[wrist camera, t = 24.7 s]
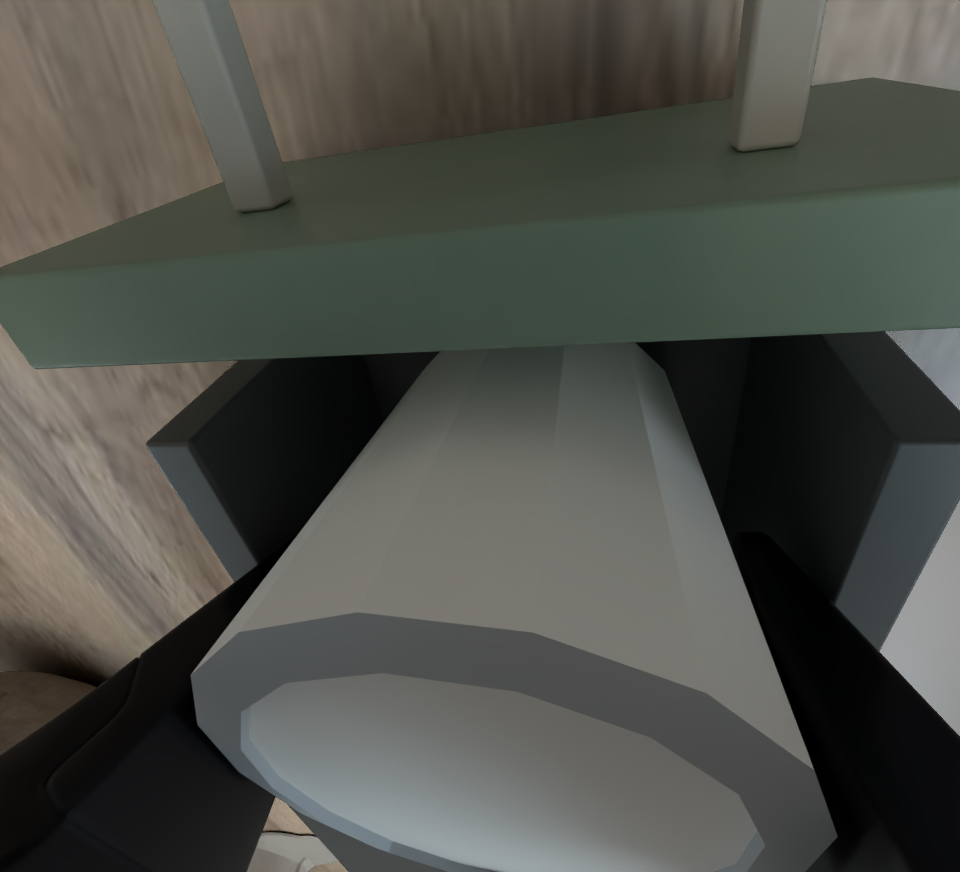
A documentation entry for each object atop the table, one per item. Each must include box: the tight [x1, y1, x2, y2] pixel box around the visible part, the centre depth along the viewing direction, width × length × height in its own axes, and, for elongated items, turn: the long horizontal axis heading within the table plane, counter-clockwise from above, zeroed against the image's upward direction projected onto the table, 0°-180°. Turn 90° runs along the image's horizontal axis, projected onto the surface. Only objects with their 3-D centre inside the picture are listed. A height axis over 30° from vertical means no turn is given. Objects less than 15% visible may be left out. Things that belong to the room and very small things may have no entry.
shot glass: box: [191, 342, 838, 872], centre depth 8 cm, size 7×7×7 cm
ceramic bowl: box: [0, 671, 97, 755], centre depth 30 cm, size 22×22×15 cm
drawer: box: [0, 0, 960, 651], centre depth 10 cm, size 17×11×7 cm, turn 8°
